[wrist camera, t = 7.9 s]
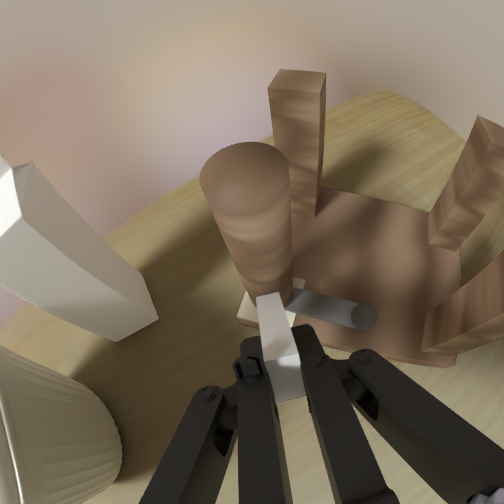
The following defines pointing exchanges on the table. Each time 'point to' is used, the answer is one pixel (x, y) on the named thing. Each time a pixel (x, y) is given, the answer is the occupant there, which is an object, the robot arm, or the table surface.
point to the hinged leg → (267, 231)
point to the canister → (52, 436)
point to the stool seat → (387, 242)
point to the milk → (65, 259)
